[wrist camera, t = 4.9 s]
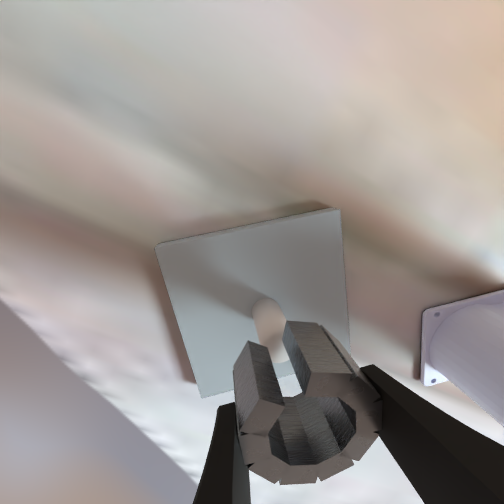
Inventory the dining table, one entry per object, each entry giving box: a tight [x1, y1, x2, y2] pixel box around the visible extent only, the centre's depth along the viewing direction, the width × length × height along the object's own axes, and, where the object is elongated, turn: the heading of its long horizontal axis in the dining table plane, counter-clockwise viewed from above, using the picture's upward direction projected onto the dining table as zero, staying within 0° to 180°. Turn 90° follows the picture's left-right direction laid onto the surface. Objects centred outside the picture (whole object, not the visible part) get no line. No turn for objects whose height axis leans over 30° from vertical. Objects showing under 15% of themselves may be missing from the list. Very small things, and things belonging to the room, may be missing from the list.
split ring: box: [232, 320, 383, 485], centre depth 10 cm, size 5×5×3 cm
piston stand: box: [154, 207, 351, 398], centre depth 16 cm, size 12×12×5 cm
